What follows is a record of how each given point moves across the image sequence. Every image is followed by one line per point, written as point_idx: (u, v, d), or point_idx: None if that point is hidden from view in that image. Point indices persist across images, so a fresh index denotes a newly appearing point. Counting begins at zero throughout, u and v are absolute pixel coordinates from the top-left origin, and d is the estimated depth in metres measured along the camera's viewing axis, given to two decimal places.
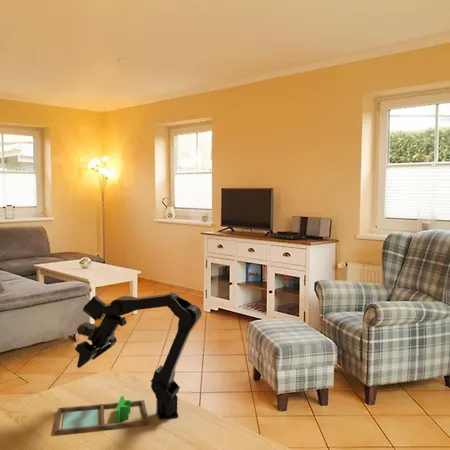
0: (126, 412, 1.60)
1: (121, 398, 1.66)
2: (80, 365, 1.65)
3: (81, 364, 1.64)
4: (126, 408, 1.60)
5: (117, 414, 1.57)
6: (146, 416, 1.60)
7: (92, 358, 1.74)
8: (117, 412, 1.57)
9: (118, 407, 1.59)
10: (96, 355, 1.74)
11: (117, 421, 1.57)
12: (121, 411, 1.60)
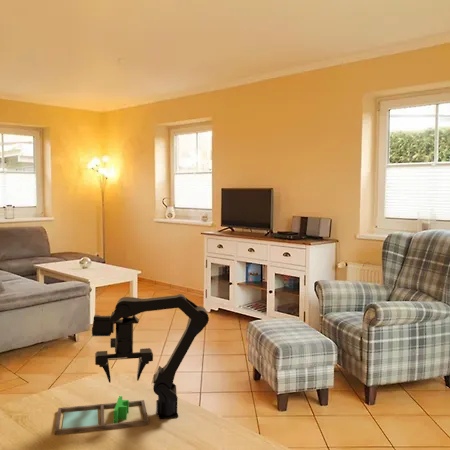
0: (124, 412, 1.60)
1: (119, 398, 1.66)
2: (108, 378, 1.60)
3: (107, 377, 1.59)
4: (124, 408, 1.60)
5: (115, 414, 1.57)
6: (146, 416, 1.60)
7: (137, 379, 1.63)
8: (115, 412, 1.57)
9: (116, 407, 1.59)
10: (137, 374, 1.62)
11: (115, 421, 1.57)
12: (119, 411, 1.60)
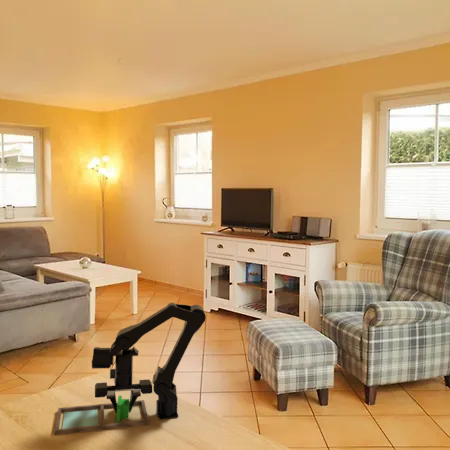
0: (126, 411, 1.60)
1: (119, 397, 1.66)
2: None
3: (114, 408, 1.61)
4: (126, 407, 1.60)
5: (118, 413, 1.57)
6: (146, 416, 1.60)
7: None
8: (118, 411, 1.57)
9: (118, 406, 1.59)
10: (129, 406, 1.62)
11: (118, 420, 1.57)
12: (121, 410, 1.60)
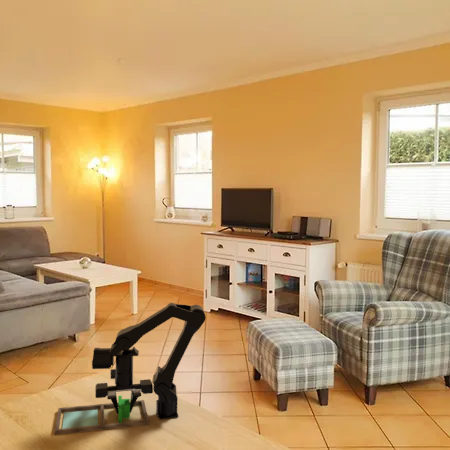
0: (128, 410, 1.61)
1: (119, 397, 1.66)
2: None
3: (115, 408, 1.61)
4: (128, 407, 1.61)
5: (120, 413, 1.57)
6: (146, 416, 1.60)
7: None
8: (120, 411, 1.57)
9: (120, 406, 1.60)
10: (130, 406, 1.62)
11: (120, 420, 1.57)
12: (123, 410, 1.60)
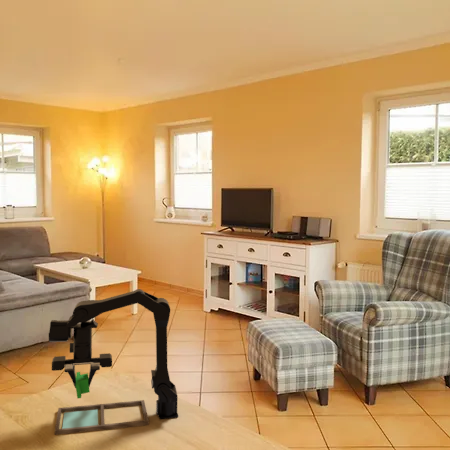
0: (86, 385, 1.56)
1: (77, 374, 1.62)
2: None
3: (73, 382, 1.56)
4: (85, 381, 1.56)
5: (78, 388, 1.53)
6: (146, 416, 1.60)
7: None
8: (77, 386, 1.53)
9: (77, 381, 1.55)
10: (88, 381, 1.58)
11: (79, 395, 1.53)
12: (81, 385, 1.56)
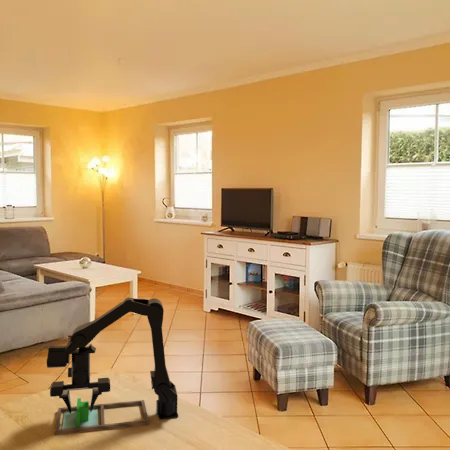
0: (86, 413, 1.57)
1: (78, 400, 1.62)
2: (68, 409, 1.57)
3: None
4: (86, 409, 1.57)
5: (78, 416, 1.54)
6: (146, 416, 1.60)
7: (90, 410, 1.59)
8: (78, 414, 1.54)
9: (78, 409, 1.56)
10: (90, 405, 1.59)
11: (78, 423, 1.54)
12: (81, 413, 1.57)
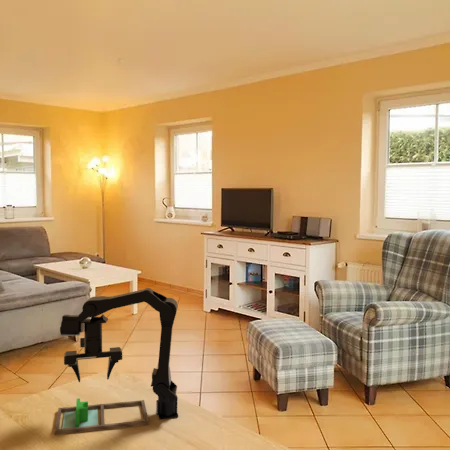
0: (86, 413, 1.57)
1: (78, 400, 1.62)
2: None
3: None
4: (85, 409, 1.57)
5: (77, 416, 1.53)
6: (146, 416, 1.60)
7: (107, 378, 1.64)
8: (77, 414, 1.53)
9: (77, 409, 1.56)
10: (107, 373, 1.63)
11: (77, 423, 1.54)
12: (80, 413, 1.57)
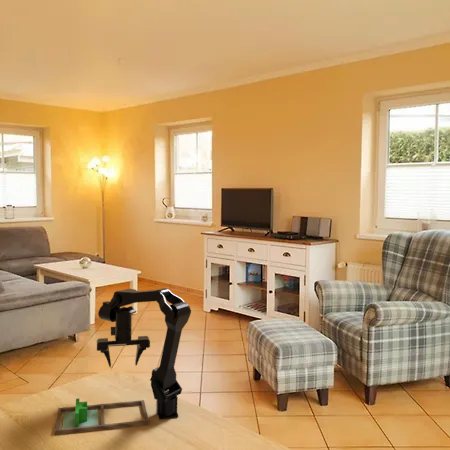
0: (85, 414, 1.57)
1: (77, 400, 1.62)
2: (108, 363, 1.73)
3: (108, 362, 1.73)
4: (85, 410, 1.57)
5: (77, 416, 1.53)
6: (146, 416, 1.60)
7: (135, 364, 1.76)
8: (77, 414, 1.53)
9: (77, 409, 1.56)
10: (135, 360, 1.75)
11: (77, 423, 1.54)
12: (80, 413, 1.56)
